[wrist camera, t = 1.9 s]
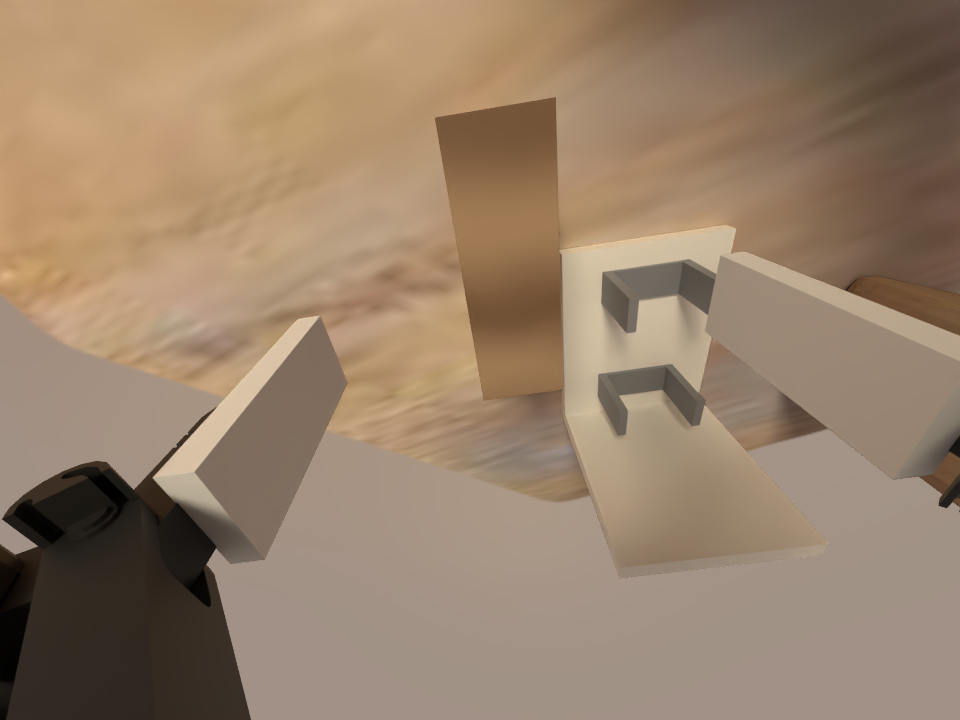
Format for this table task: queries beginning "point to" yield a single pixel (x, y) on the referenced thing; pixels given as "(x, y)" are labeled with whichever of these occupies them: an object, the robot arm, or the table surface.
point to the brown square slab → (508, 241)
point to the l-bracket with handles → (662, 412)
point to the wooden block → (928, 307)
